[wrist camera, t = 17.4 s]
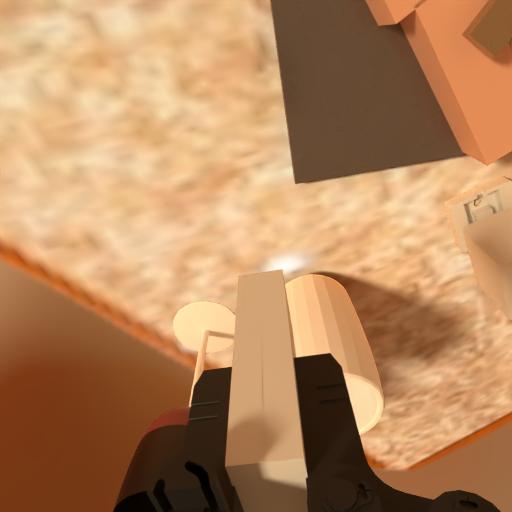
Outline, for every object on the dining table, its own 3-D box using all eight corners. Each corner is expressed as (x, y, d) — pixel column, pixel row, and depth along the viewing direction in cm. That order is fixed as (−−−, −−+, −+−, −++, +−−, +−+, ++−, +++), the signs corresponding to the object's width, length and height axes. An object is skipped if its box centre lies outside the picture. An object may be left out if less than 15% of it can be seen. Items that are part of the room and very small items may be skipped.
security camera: (456, 260, 39) (514, 325, 30) (438, 203, 35) (497, 257, 27) (521, 234, 37) (602, 295, 28) (509, 172, 34) (595, 219, 25)
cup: (268, 267, 39) (274, 374, 27) (351, 262, 39) (396, 367, 26) (272, 330, 43) (279, 447, 31) (347, 326, 43) (383, 443, 31)
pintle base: (257, -97, 25) (257, -144, 18) (525, -161, 23) (628, -238, 17) (294, 179, 34) (303, 212, 28) (487, 146, 33) (544, 173, 26)
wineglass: (231, 291, 40) (213, 482, 23) (248, 350, 45) (244, 549, 27) (160, 303, 41) (91, 496, 24) (183, 360, 45) (139, 559, 28)
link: (329, -70, 25) (342, -87, 21) (424, -156, 23) (455, -191, 19) (447, 160, 32) (470, 175, 29) (526, 111, 30) (561, 120, 27)
